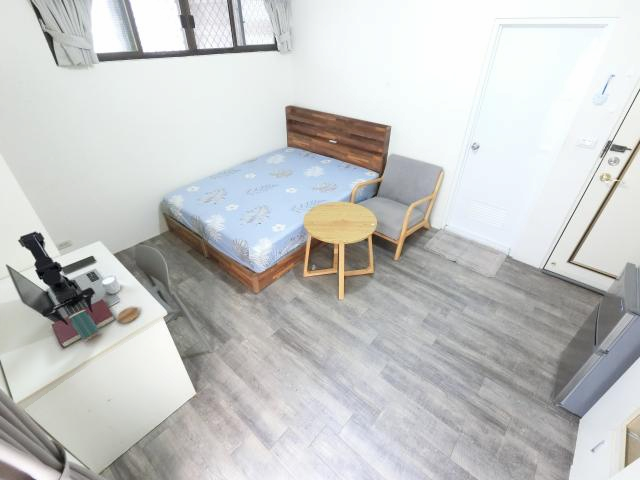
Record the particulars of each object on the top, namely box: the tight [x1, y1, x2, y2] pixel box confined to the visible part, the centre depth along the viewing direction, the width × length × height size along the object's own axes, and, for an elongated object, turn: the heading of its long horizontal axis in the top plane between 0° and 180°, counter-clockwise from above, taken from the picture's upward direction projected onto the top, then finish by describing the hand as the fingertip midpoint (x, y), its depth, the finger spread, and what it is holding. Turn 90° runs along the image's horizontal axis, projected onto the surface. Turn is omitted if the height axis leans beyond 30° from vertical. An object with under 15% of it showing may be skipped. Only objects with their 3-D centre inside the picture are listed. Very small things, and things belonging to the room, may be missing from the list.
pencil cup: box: [68, 309, 101, 343], centre depth 131 cm, size 13×7×13 cm, turn 47°
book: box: [51, 298, 117, 349], centre depth 139 cm, size 15×21×3 cm
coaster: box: [117, 307, 140, 324], centre depth 144 cm, size 9×9×1 cm
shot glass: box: [100, 275, 121, 295], centre depth 155 cm, size 7×7×7 cm
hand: (80, 318), depth 131 cm, fingers open, 9 cm apart
